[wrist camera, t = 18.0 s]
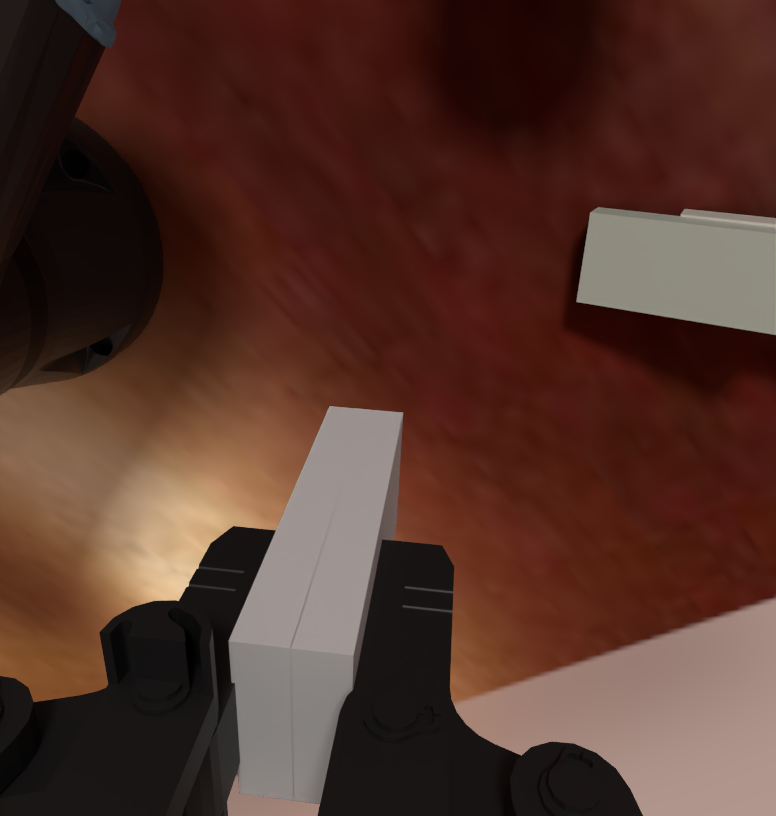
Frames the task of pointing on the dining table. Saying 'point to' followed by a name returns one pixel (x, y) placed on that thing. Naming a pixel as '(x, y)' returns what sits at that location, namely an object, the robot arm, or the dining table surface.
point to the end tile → (681, 268)
